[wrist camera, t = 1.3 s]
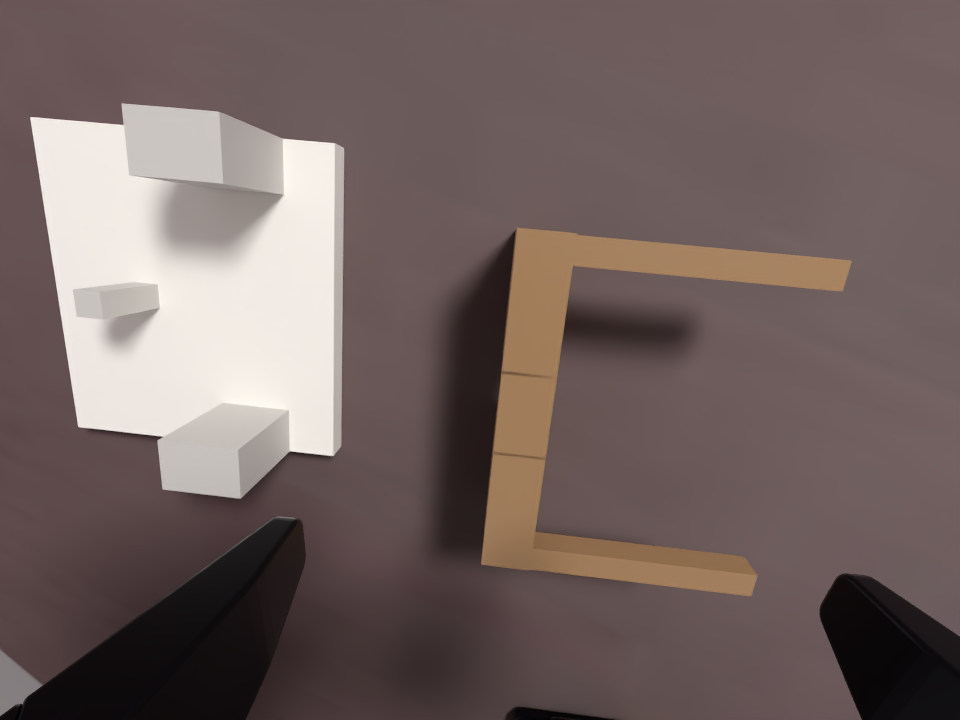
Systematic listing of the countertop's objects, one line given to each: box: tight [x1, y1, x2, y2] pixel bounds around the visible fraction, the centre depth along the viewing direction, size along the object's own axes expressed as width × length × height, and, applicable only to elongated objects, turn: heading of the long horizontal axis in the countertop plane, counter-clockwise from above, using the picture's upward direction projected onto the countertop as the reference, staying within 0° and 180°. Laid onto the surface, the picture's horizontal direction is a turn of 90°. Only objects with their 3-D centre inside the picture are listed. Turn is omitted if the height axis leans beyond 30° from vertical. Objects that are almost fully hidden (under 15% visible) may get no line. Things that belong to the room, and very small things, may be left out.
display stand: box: [30, 104, 344, 499], centre depth 18 cm, size 12×13×5 cm
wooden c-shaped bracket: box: [481, 228, 852, 596], centre depth 18 cm, size 10×12×5 cm
